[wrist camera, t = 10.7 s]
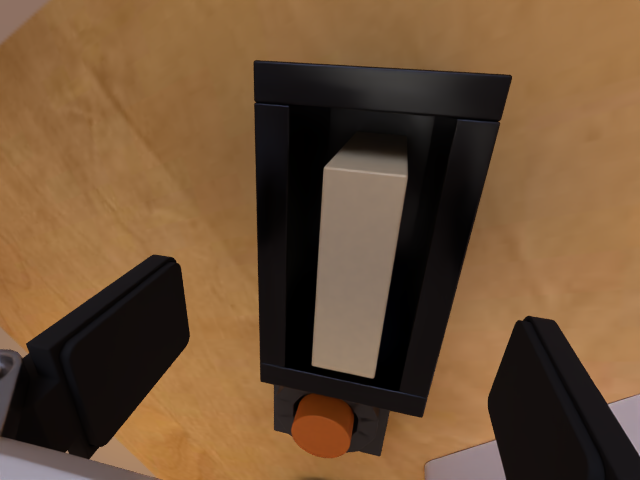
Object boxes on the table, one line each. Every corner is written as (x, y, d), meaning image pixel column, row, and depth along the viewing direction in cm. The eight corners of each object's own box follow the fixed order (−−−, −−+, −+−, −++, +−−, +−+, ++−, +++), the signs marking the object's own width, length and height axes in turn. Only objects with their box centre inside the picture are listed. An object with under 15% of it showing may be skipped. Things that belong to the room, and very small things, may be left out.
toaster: (312, 67, 18) (252, 59, 11) (467, 76, 16) (513, 75, 9) (303, 291, 23) (260, 382, 16) (417, 311, 22) (422, 418, 15)
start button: (299, 386, 22) (291, 409, 20) (357, 399, 21) (353, 424, 20) (297, 425, 23) (290, 450, 22) (351, 438, 23) (347, 464, 21)
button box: (284, 304, 24) (263, 343, 21) (402, 326, 23) (402, 372, 19) (282, 406, 28) (265, 453, 25) (382, 429, 27) (378, 482, 23)
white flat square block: (343, 269, 21) (311, 366, 14) (356, 131, 18) (323, 166, 10) (385, 276, 21) (374, 379, 13) (407, 135, 17) (408, 175, 10)
